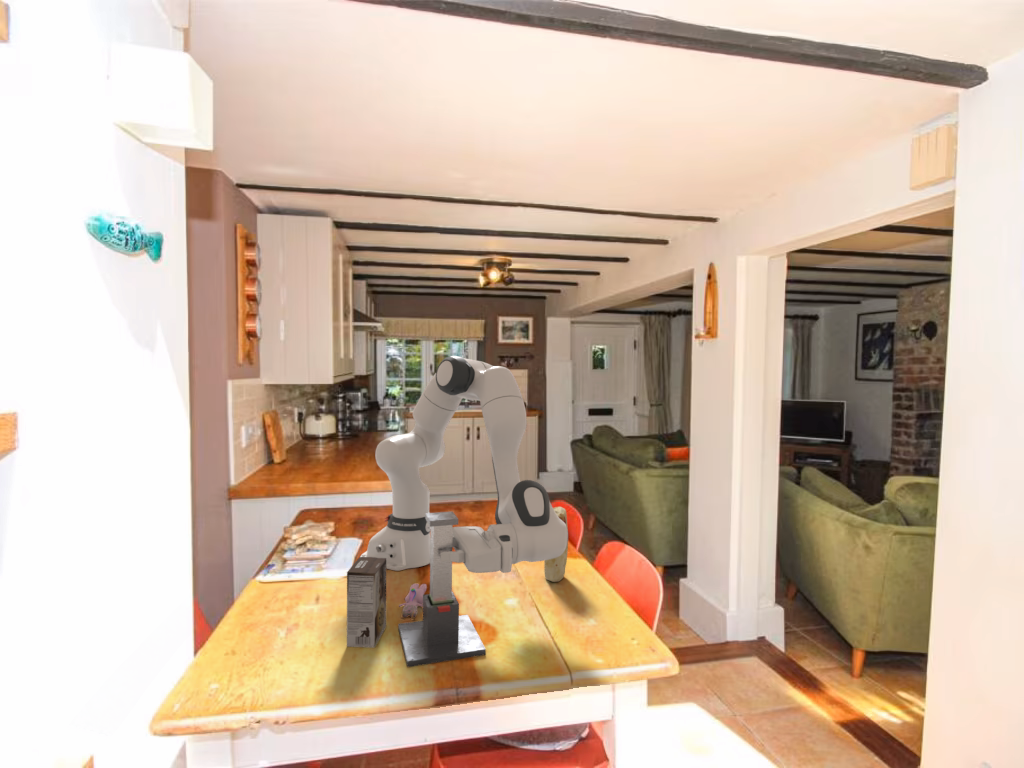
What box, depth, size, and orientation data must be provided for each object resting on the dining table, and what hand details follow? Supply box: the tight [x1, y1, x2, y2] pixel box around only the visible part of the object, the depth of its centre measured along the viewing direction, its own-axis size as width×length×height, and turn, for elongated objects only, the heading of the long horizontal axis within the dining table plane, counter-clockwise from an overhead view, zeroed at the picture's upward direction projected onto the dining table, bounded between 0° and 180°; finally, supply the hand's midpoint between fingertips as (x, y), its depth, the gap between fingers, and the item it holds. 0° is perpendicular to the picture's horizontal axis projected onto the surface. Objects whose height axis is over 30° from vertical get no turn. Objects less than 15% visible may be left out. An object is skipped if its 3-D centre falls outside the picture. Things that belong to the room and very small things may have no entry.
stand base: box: [397, 590, 487, 668], centre depth 115 cm, size 16×16×9 cm
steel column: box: [425, 511, 459, 606], centre depth 115 cm, size 6×6×21 cm
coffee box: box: [346, 556, 387, 649], centre depth 116 cm, size 9×6×16 cm
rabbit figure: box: [398, 583, 428, 621], centre depth 131 cm, size 6×6×15 cm
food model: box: [543, 506, 569, 583], centre depth 151 cm, size 10×7×20 cm
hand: (437, 550), depth 114 cm, fingers open, 6 cm apart
